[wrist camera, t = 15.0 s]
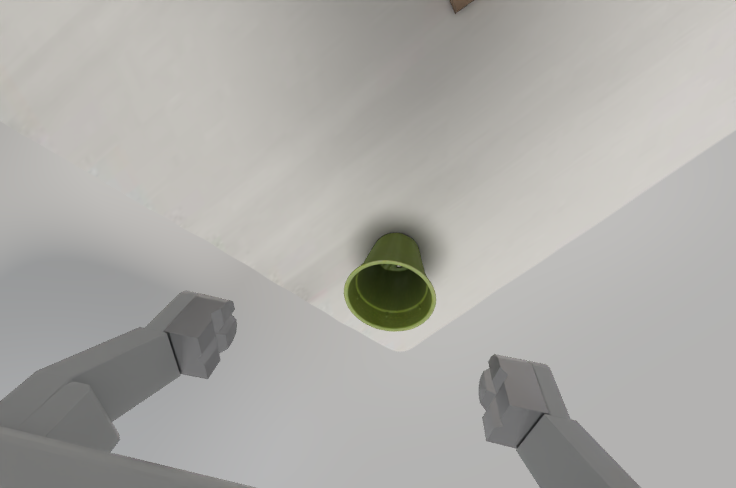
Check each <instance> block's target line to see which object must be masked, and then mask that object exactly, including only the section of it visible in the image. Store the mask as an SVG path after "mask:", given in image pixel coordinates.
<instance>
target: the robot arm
mask: <svg viewBox="0 0 736 488" xmlns="http://www.w3.org/2000/svg"><path fill="white" fill-rule="evenodd" d="M234 309H235V308H234V303H233V301H230V300H226V299H222V298H217V297H213V296H209V295H205V294H199V293H195V292H190V291H183V292H181V293H179V295H177V296H176V297H175V298H174V299H173V300H172V301H171V302H170V303H169V304H168V305H167V306H166V307H165V308H164V309H163V310H162V311H161V312H160V313H159V314H158V315H157V316H156V317H155V318H154V319H153V320H152V321H151V322H150V323H149V324H148V325H147V326H146V327H145V328H142V327H139V328H136V329H134V330H132V331H129V332H127V333H125V334H122V335H120V336H118V337H115V338H113V339H111V340H108V341H106V342H103V343H101V344H99V345H96V346H94V347H92V348H89V349H87V350H85V351H82V352H80V353H78V354H75V355H73V356H71V357H68V358H66V359H64V360H61V361H59V362H57V363H54V364H52V365H49V366H47V367H45V368H42V369H40V370H38V371H36V372H35V373H34V374H33V375H31V376H30V377H29V378H28V379H26V380H25V381H24V382H23V383H22V384H20V385H19V386H18V387H17V388H15V389H14V390H13V391H12V392H11V393H9V394H8V395H7V396H6V397H5V398H4V399H2V400H1V401H0V488H255V487H251V486H247V485H242V484H238V483H235V482H230V481H226V480H222V479H218V478H214V477H210V476H206V475H201V474H197V473H193V472H189V471H185V470H181V469H177V468H173V467H168V466H164V465H160V464H156V463H152V462H148V461H144V460H140V459H135V458H131V457H127V456H123V455H119V454H115V453H111V451H112V449H113V448H114V447H115V446H116V444H117V443H118V441H119V440H120V439H119V438H120V437H119V433H118V432H117V430H116V428H115V427H114V425H113V424H112V421H114V420H116V419H117V418H118V417H120V416H121V415H123V414H124V413H126V412H127V411H129V410H130V409H132V408H133V407H135V406H136V405H138V404H139V403H140V402H142V401H143V400H145V399H147V398H148V397H150V396H151V395H152V394H154V393H155V392H157V391H158V390H160V389H161V388H163V387H164V386H166V385H167V384H169V383H170V382H172V381H173V380H175V379H176V378H178V377H179V376H180V374H184V375H189V376H195V377H200V378H205V379H208V378H209V377H210V375H211V374H212V372H213V370H214V369H215V367H216V366H217V365H218V363H219V361H220V356H219V353H220V352H223V351H225V350H226V349H228V347H229V346H230V344H231V343H232V341H233V339H234V336H235V334H236V328H237V322H236V319H235V318H234V316H232V312H233V311H234ZM489 367H490V368H489V369H487V370H485V371H483V373H482V375H481V378H480V382H479V399H480V403H481V405H482V406H483V407H484V409H485V410H486V412H485V414H484V416H483V417H482V418H483V424H484V430H485V437H486V441H489V442H492V443H497V444H501V445H504V446H509V447H512V448H516V451H517V452H518V454H519V455H520V457H521V459H522V460H523V462H524V463H525V465H526V466H527V468H528V469H529V471H530V473H531V474H532V476H533V477H534V479H535V480H536V482H537V484H538V485H539V487H540V488H641V487H640V486H639V485H638V484H637V483H636V482H635V481H634V480H633V479H632V478H631V477H630V476H629V475H628V474H627V473H626V472H625V471H624V470H623V469H622V468H621V466H620V465H619V464H618V463H617V462H616V461H615V460H614V459H613V458H612V457H611V456H610V455H609V454H608V453H607V452H606V451H605V450H604V449H603V448H602V447H601V446H600V445H599V444H598V443H597V442H596V441H595V440H594V439H593V438H592V436H590V434H589V433H588V432H586V430H585V429H584V428H583V427H582V426H581V425H580V424H579V423H578V422H577V421H575V420H571V419H570V417H569V414H568V412H567V409H566V407H565V404H564V402H563V399H562V397H561V394H560V392H559V389H558V387H557V384H556V382H555V380H554V377H553V375H552V372H551V370H550V368H549V367H548V366H547V365H546V364H541V363H536V362H531V361H527V360H522V359H516V358H511V357H506V356H501V355H496V354H494V355H493V356H491V358H490V360H489Z"/></svg>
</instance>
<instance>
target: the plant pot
mask: <svg viewBox="0 0 736 488" xmlns="http://www.w3.org/2000/svg"><path fill="white" fill-rule="evenodd" d="M397 265H399V266H403V267H401V268H397ZM344 297H345V301H346V304H347V306H348V308H349V309H350V311H351V312H352V313H353V314H354V315H355V316H356V317H357V318H358V319H359V320H360V321H362V322H363V323H365V324H367V325H369V326H371V327H374V328H376V329H380V330H386V331H405V330H410V329H413V328H415V327H417V326H419V325H421V324H423V323H424V322H425V321H426V320H427V319H428V318H429V317H430V316H431V314H432V313H433V311H434V308H435V305H436V294H435V290H434V288H433V286H432V284H431V282H430V281H429V279H428V278H427V276H426V274H425V272H424V268H423V264H422V260H421V256H420V252H419V248H418V246H417V244H416V242H415V241H414V240H413V239H412V238H410V237H408V236H406V235H403V234H401V233H390V234H386V235H384V236H382V237H381V238H380V239H379V240H378V241H377V242H376V243H375V245H374V247H373V248H372V250H371V251H370V253H369V255H368V256H367V258H366V259H365V261H364V263H363V264H362V265H361V266H359V267H358V268H356V269H355V270H354V271H353V272H352V273H351V274H350V275H349V277H348V279H347V281H346V283H345V287H344Z"/></svg>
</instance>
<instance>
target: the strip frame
mask: <svg viewBox="0 0 736 488" xmlns="http://www.w3.org/2000/svg"><path fill="white" fill-rule="evenodd" d="M472 1H474V0H450V2H451V5H452V7H453V10H454V12H455V14H456V13H457V12H458V11H460V10H461V9H463V8H464V7H465V6H467V5H468V4H469V3H471V2H472Z"/></svg>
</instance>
